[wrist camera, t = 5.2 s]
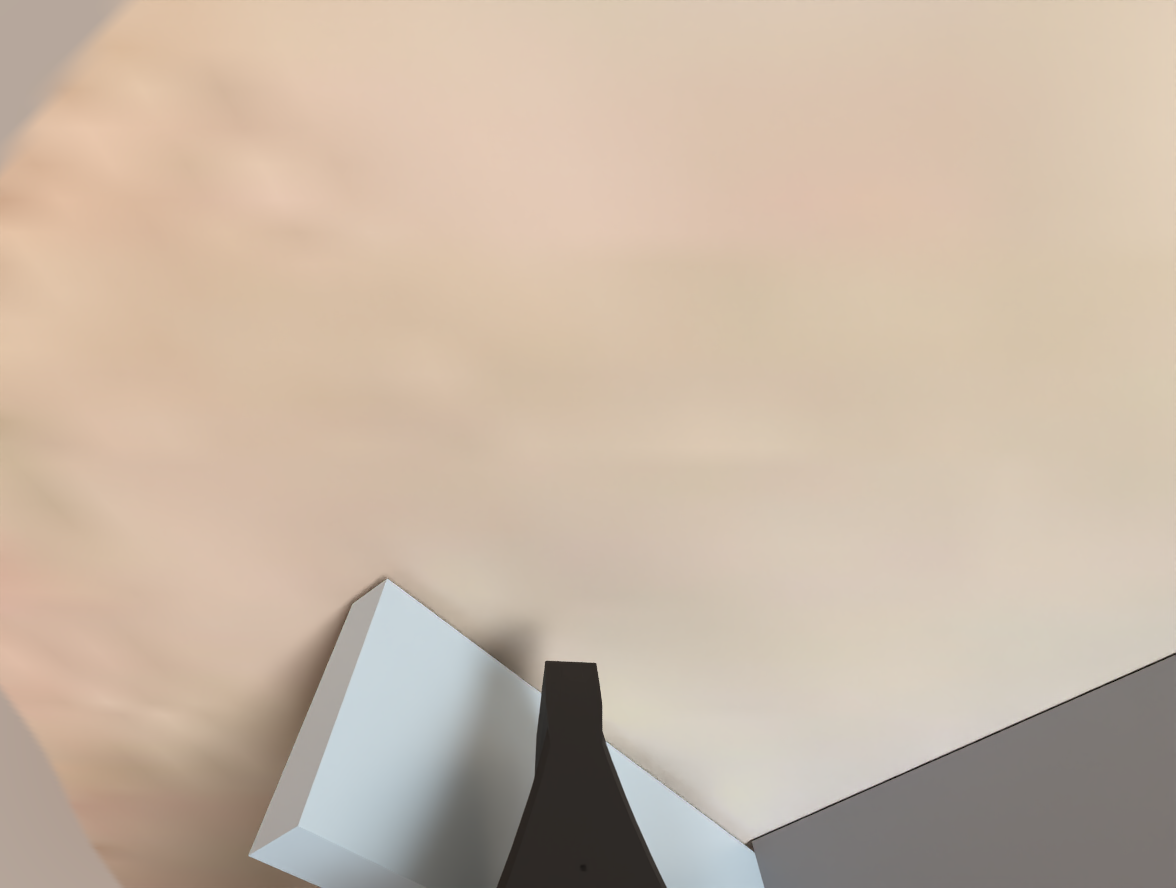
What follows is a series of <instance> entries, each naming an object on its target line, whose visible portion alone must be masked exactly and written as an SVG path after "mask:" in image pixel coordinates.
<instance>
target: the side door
mask: <svg viewBox="0 0 1176 888" xmlns="http://www.w3.org/2000/svg"><path fill="white" fill-rule="evenodd" d="M541 694H542V693H540V692H539V691H538V690H536V689H535V688H533V687H532V686H531V685H529V684H528V683H527V682H525V681H524V680H523V679H521V678H520V677H519V676H517V675H516V674H515V673H513V672H512V671H511V670H509V669H508V668H507V667H505V666H504V665H503V664H501V663H500V662H499V661H497V660H496V659H495V658H493V657H492V656H491V655H489V654H488V653H487V652H485V651H484V650H483V649H481V648H480V647H479V646H477V645H476V644H475V643H473V642H472V641H470V640H469V639H468V638H466V637H465V636H464V635H462V634H461V633H460V632H458V631H457V630H456V629H454V628H453V627H452V626H450V625H449V624H448V623H446V622H445V621H444V620H442V619H441V618H440V617H438V616H437V615H436V614H434V613H433V612H432V611H430V610H429V609H428V608H426V607H425V606H424V605H422V604H421V603H420V602H418V601H417V600H416V599H414V598H413V597H412V596H410V595H409V594H408V593H406V592H405V591H403V590H402V589H401V588H399V587H398V586H397V585H395V584H394V583H393V582H391V581H390V580H389V579H386V580H384V581H383V582H382V583H380V584H379V585H377V586H376V587H375V588H373V589H372V590H371V591H369V592H368V593H367V594H365V595H364V596H362V597H361V598H360V599H358V600H357V601H356V602H354V603H353V604H352V606H351V608H350V611H349V613H348V616H347V618H346V621H345V623H344V625H343V628H342V630H341V633H340V635H339V637H338V640H337V642H336V645H335V647H334V650H333V652H332V654H331V657H330V659H329V662H328V664H327V666H326V669H325V671H324V674H323V676H322V679H321V681H320V683H319V686H318V688H317V691H316V693H315V695H314V698H313V700H312V703H311V705H310V708H309V710H308V712H307V715H306V717H305V720H304V722H303V724H302V727H301V729H300V732H299V734H298V737H297V739H296V741H295V744H294V746H293V749H292V751H291V753H290V756H289V758H288V761H287V763H286V766H285V768H284V770H283V773H282V775H281V778H280V780H279V782H278V785H277V787H276V790H275V792H274V795H273V797H272V799H271V802H270V804H269V807H268V809H267V812H266V814H265V816H264V819H263V821H262V824H261V826H260V828H259V831H258V833H257V836H256V838H255V841H254V843H253V845H252V848H251V850H250V853H249V855H248V856H250V857H252V858H254V859H256V860H259V861H261V862H263V863H266V864H268V865H270V866H273V867H275V868H277V869H279V870H282V871H284V872H286V873H289V874H291V875H293V876H296V877H298V878H300V879H302V880H305V881H307V882H309V883H312V884H314V885H316V886H319V887H321V888H496V887H497V885H498V882H499V880H500V877H501V874H502V872H503V869H504V866H505V864H506V861H507V858H508V856H509V853H510V850H511V847H512V845H513V842H514V839H515V836H516V833H517V830H518V827H519V824H520V821H521V818H522V815H523V812H524V809H525V806H526V803H527V800H528V797H529V794H530V791H531V787H532V784H533V781H534V777H535V755H536V735H537V726H538V718H539V710H540V702H541ZM606 744H607V747H608V750H609V753H610V756H611V758H612V761H613V764H614V766H615V769H616V771H617V774H618V777H619V779H620V782H621V784H622V787H623V790H624V792H625V795H626V797H627V800H628V802H629V805H630V807H631V809H632V812H633V814H634V817H635V819H636V821H637V824H638V826H639V828H640V830H641V833H642V835H643V837H644V839H645V842H646V844H647V846H648V848H649V851H650V853H651V855H652V857H653V859H654V862H655V864H656V866H657V868H658V870H659V872H660V874H661V876H662V878H663V881H664V883H665V885H666V887H667V888H764V885H763V881H762V878H761V874H760V870H759V867H758V863H757V859H756V856H755V852H753V851H752V850H751V849H749V848H748V847H747V846H745V845H744V844H743V843H741V842H740V841H739V840H737V839H736V838H734V837H733V836H732V835H730V834H729V833H728V832H726V831H725V830H724V829H722V828H721V827H720V826H718V825H717V824H716V823H714V822H713V821H712V820H710V819H709V818H708V817H706V816H705V815H704V814H702V813H701V812H700V811H698V810H697V809H696V808H694V807H693V806H692V805H690V804H689V803H688V802H686V801H685V800H684V799H682V798H681V797H680V796H678V795H677V794H676V793H674V792H673V791H672V790H670V789H669V788H667V787H666V786H665V785H663V784H662V783H661V782H659V781H658V780H657V779H655V778H654V777H653V776H651V775H650V774H649V773H647V772H646V771H645V770H643V769H642V768H641V767H639V766H638V765H637V764H635V763H634V762H633V761H631V760H630V759H629V758H627V757H626V756H625V755H623V754H622V753H621V752H619V751H618V750H617V749H615V748H614V747H613V746H611V745H610V744H609V743H607V742H606Z"/></svg>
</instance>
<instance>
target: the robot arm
mask: <svg viewBox="0 0 1176 888" xmlns="http://www.w3.org/2000/svg"><path fill="white" fill-rule="evenodd" d="M496 888H667V887H666V885H665V883H664V881H663V878H662V876H661V874H660V872H659V870H658V868H657V866H656V864H655V862H654V859H653V857H652V855H651V853H650V851H649V848H648V846H647V844H646V842H645V839H644V837H643V835H642V833H641V830H640V828H639V826H638V824H637V821H636V819H635V817H634V814H633V812H632V809H631V807H630V805H629V802H628V800H627V797H626V795H625V792H624V790H623V787H622V784H621V782H620V779H619V777H618V774H617V771H616V769H615V766H614V764H613V761H612V758H611V756H610V753H609V750H608V747H607V744H606V741H605V738H604V735H603V732H602V699H601V692H600V684H599V678H598V672H597V666H596V663H583V662H561V661H545V669H544V677H543V685H542V694H541V702H540V710H539V718H538V726H537V735H536V755H535V777H534V781H533V784H532V787H531V791H530V794H529V797H528V800H527V803H526V806H525V809H524V812H523V815H522V818H521V821H520V824H519V827H518V830H517V833H516V836H515V839H514V842H513V845H512V847H511V850H510V853H509V856H508V858H507V861H506V864H505V866H504V869H503V872H502V874H501V877H500V880H499V882H498V885H497V887H496Z"/></svg>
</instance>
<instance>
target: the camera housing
mask: <svg viewBox="0 0 1176 888" xmlns="http://www.w3.org/2000/svg"><path fill="white" fill-rule="evenodd" d="M752 845H753V849H754V852H755V856H756V859H757V863H758V867H759V870H760V874H761V878H762V881H763V885H764V888H1176V655H1174V656H1172V657H1169V658H1167V659H1165V660H1162V661H1160V662H1158V663H1156V664H1153V665H1151V666H1149V667H1147V668H1144V669H1142V670H1140V671H1137V672H1135V673H1133V674H1131V675H1128V676H1126V677H1124V678H1122V679H1119V680H1117V681H1115V682H1112V683H1110V684H1108V685H1106V686H1103V687H1101V688H1099V689H1097V690H1094V691H1092V692H1090V693H1087V694H1085V695H1083V696H1081V697H1078V698H1076V699H1074V700H1072V701H1069V702H1067V703H1065V704H1062V705H1060V706H1058V707H1056V708H1053V709H1051V710H1049V711H1047V712H1044V713H1042V714H1040V715H1037V716H1035V717H1033V718H1031V719H1028V720H1026V721H1024V722H1022V723H1019V724H1017V725H1015V726H1012V727H1010V728H1008V729H1006V730H1003V731H1001V732H999V733H997V734H994V735H992V736H990V737H987V738H985V739H983V740H981V741H978V742H976V743H974V744H972V745H969V746H967V747H965V748H962V749H960V750H958V751H956V752H953V753H951V754H949V755H947V756H944V757H942V758H940V759H937V760H935V761H933V762H931V763H928V764H926V765H924V766H922V767H919V768H917V769H915V770H913V771H910V772H908V773H906V774H903V775H901V776H899V777H897V778H894V779H892V780H890V781H888V782H885V783H883V784H881V785H878V786H876V787H874V788H872V789H869V790H867V791H865V792H863V793H860V794H858V795H856V796H853V797H851V798H849V799H847V800H844V801H842V802H840V803H838V804H835V805H833V806H831V807H828V808H826V809H824V810H822V811H819V812H817V813H815V814H813V815H810V816H808V817H806V818H803V819H801V820H799V821H797V822H794V823H792V824H790V825H788V826H785V827H783V828H781V829H778V830H776V831H774V832H772V833H769V834H767V835H765V836H763V837H760V838H758V839H756V840H753V841H752Z"/></svg>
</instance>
